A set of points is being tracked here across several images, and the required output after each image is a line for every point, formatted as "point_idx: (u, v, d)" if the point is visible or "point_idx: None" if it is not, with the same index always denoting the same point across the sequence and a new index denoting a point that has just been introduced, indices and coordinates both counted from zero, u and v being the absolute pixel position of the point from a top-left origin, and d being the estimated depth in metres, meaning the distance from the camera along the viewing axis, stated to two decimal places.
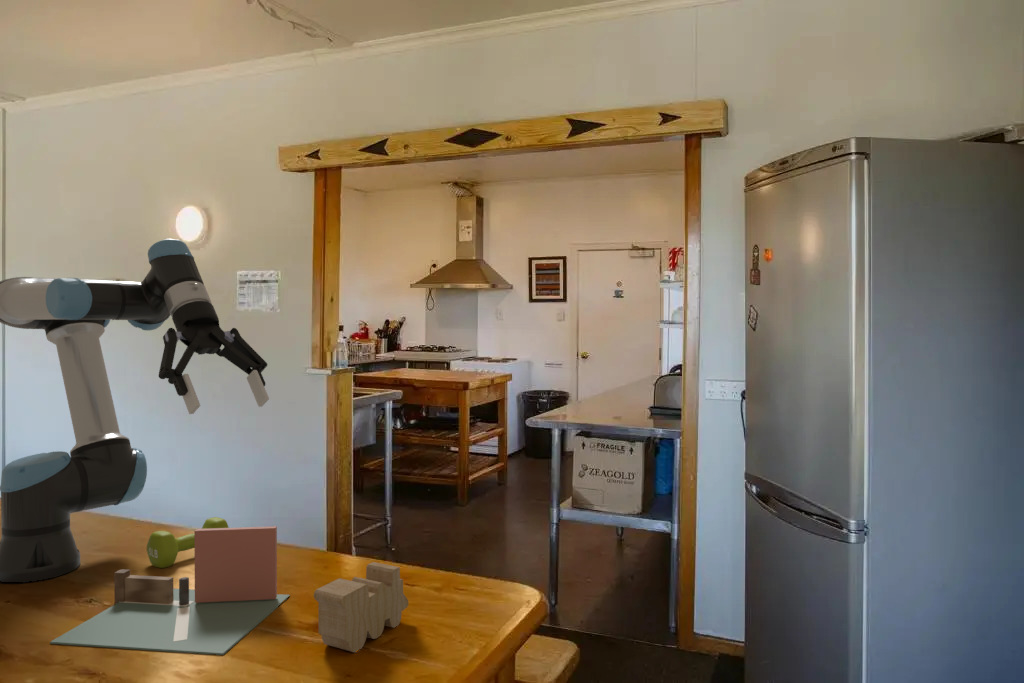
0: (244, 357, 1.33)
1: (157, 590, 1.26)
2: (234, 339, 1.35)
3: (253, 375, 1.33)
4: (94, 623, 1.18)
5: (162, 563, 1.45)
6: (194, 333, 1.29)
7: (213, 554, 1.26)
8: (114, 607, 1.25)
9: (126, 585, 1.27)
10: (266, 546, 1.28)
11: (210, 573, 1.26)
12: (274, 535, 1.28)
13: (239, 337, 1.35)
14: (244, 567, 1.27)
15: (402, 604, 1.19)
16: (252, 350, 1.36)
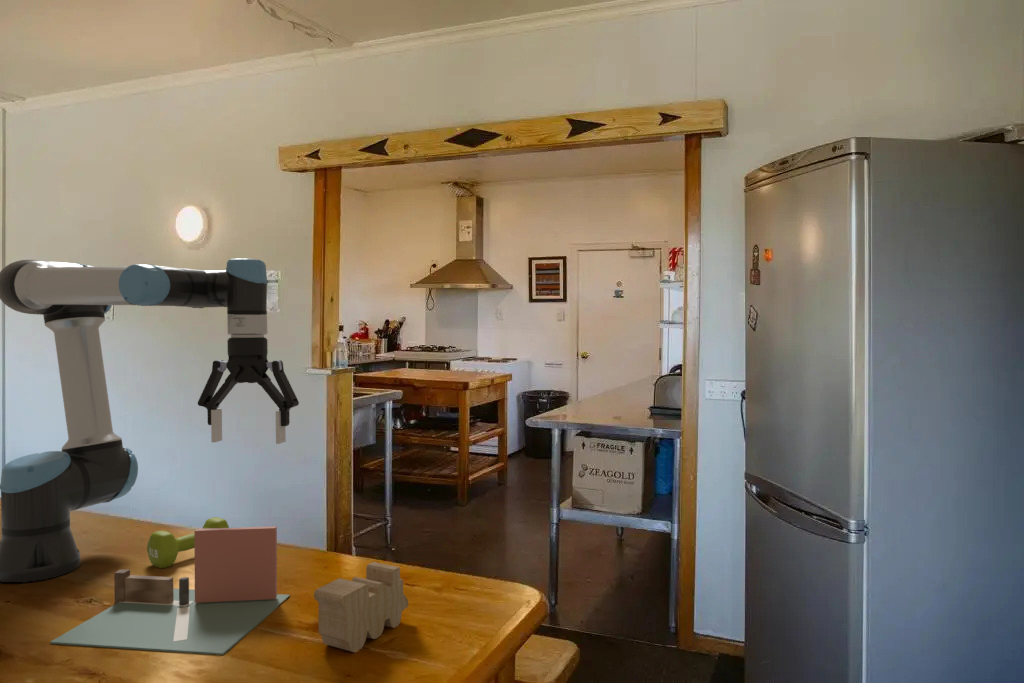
0: (272, 395, 1.39)
1: (157, 590, 1.26)
2: None
3: None
4: (94, 623, 1.18)
5: (162, 563, 1.45)
6: (235, 366, 1.40)
7: (213, 554, 1.26)
8: (114, 607, 1.25)
9: (126, 585, 1.27)
10: (266, 546, 1.28)
11: (210, 573, 1.26)
12: (274, 535, 1.28)
13: (276, 372, 1.39)
14: (244, 567, 1.27)
15: (402, 605, 1.19)
16: (284, 388, 1.39)
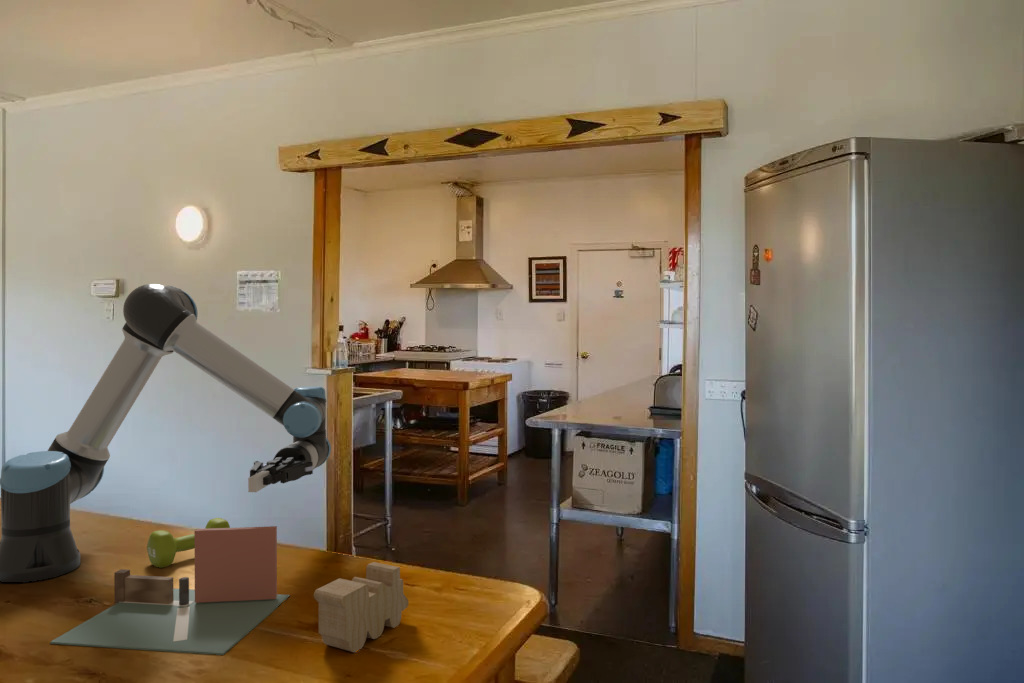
0: None
1: (157, 590, 1.26)
2: None
3: None
4: (94, 623, 1.18)
5: (159, 563, 1.45)
6: None
7: (213, 554, 1.26)
8: (114, 607, 1.25)
9: (126, 585, 1.27)
10: (266, 546, 1.28)
11: (210, 573, 1.26)
12: (274, 535, 1.28)
13: None
14: (244, 567, 1.27)
15: (402, 605, 1.19)
16: None
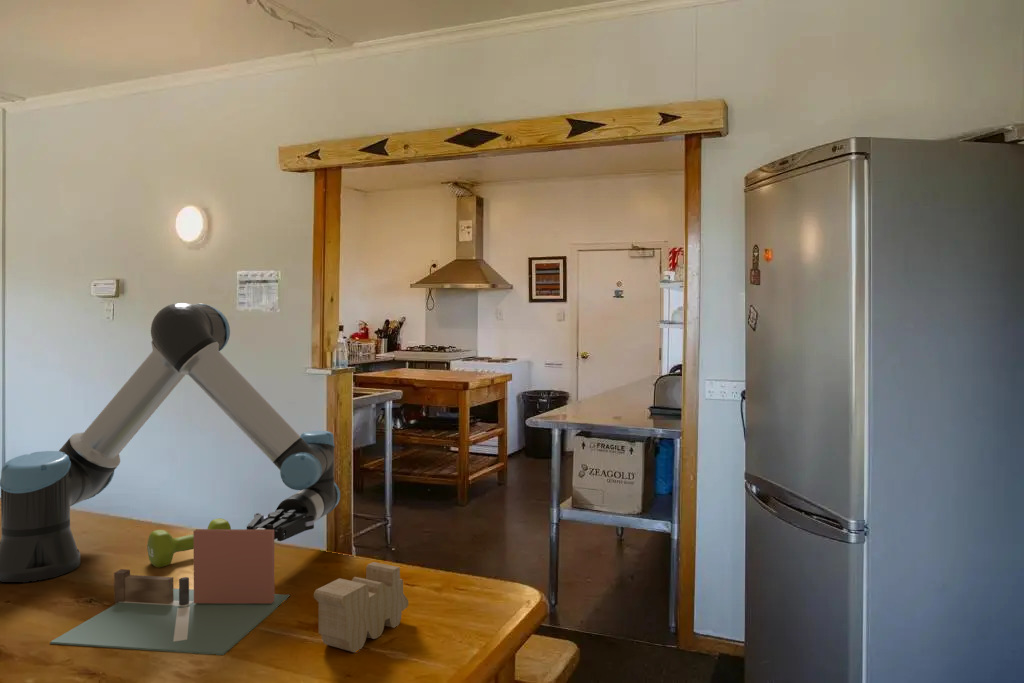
0: None
1: (157, 590, 1.26)
2: None
3: None
4: (94, 623, 1.18)
5: (157, 562, 1.45)
6: None
7: (211, 555, 1.26)
8: (114, 607, 1.25)
9: (126, 585, 1.27)
10: (263, 549, 1.26)
11: (209, 574, 1.26)
12: (271, 538, 1.26)
13: None
14: (241, 570, 1.26)
15: (402, 604, 1.19)
16: None
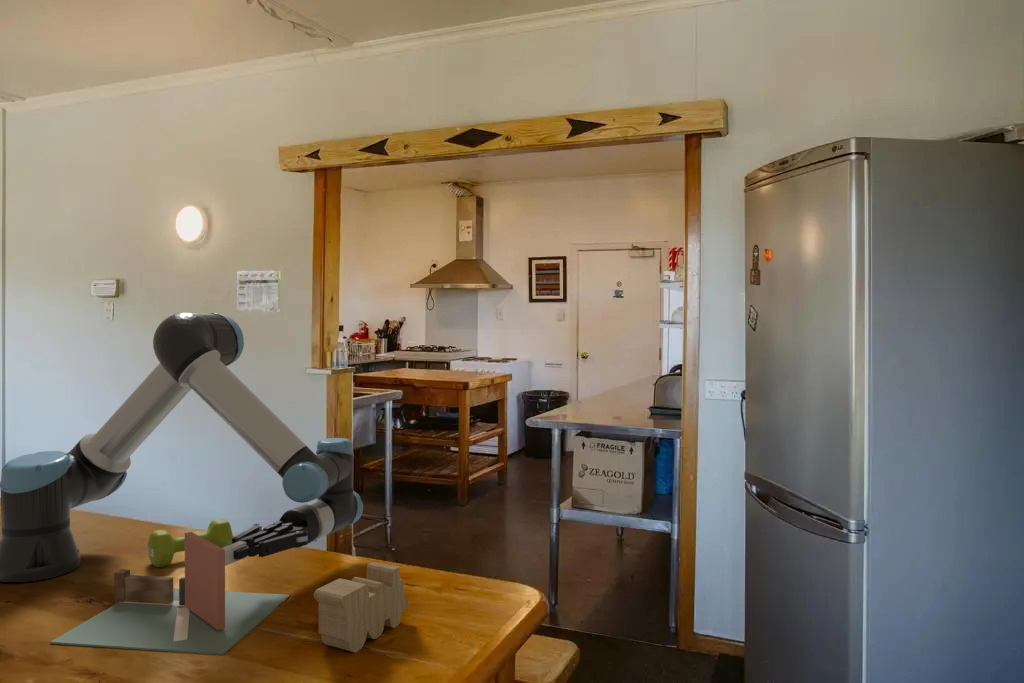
0: None
1: (157, 590, 1.26)
2: None
3: None
4: (94, 623, 1.18)
5: (157, 562, 1.45)
6: None
7: (191, 562, 1.22)
8: (114, 607, 1.25)
9: (126, 585, 1.27)
10: (213, 569, 1.16)
11: (190, 580, 1.23)
12: (217, 559, 1.15)
13: None
14: (204, 585, 1.18)
15: (402, 605, 1.19)
16: None
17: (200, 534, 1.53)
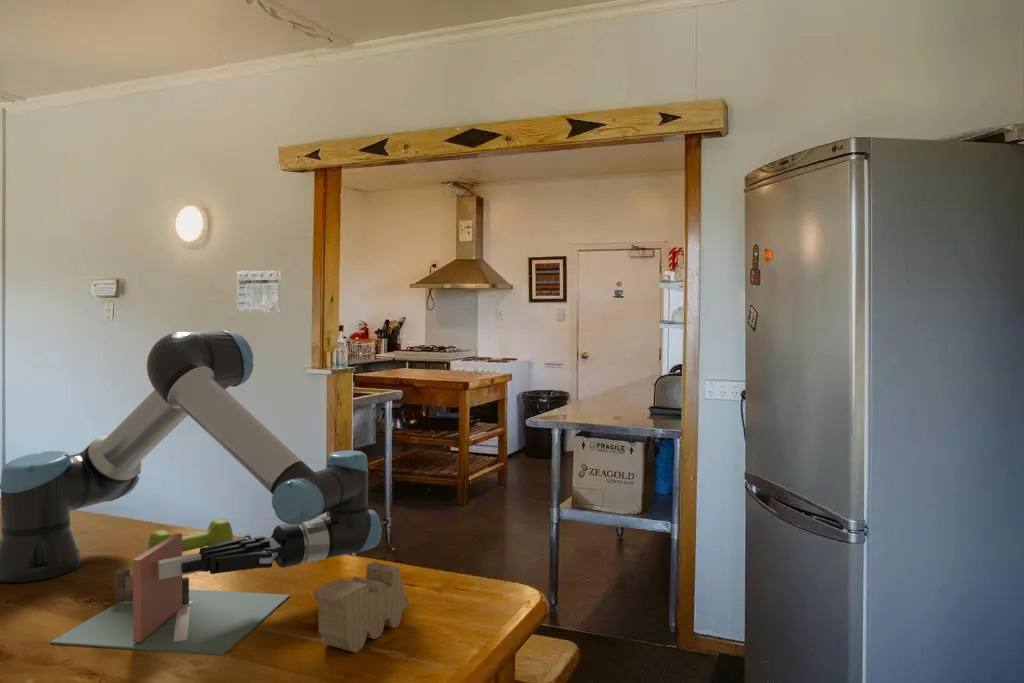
0: None
1: None
2: None
3: None
4: (94, 623, 1.18)
5: None
6: None
7: None
8: (114, 607, 1.25)
9: (126, 585, 1.27)
10: None
11: None
12: (133, 568, 1.10)
13: None
14: None
15: (402, 605, 1.19)
16: None
17: (200, 534, 1.53)
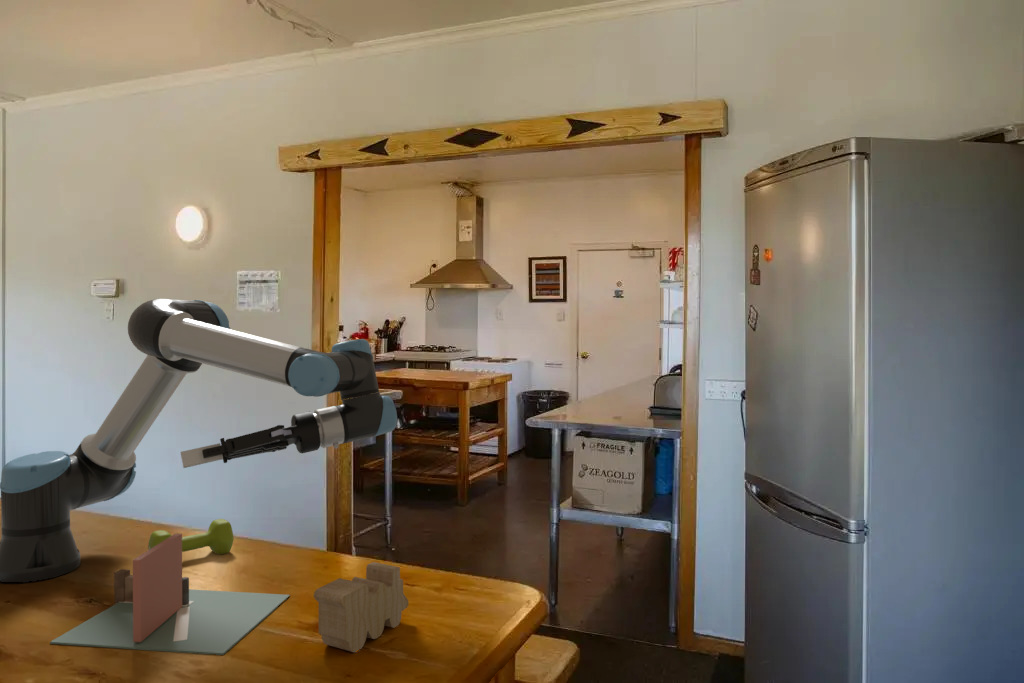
0: (243, 454, 1.29)
1: None
2: None
3: None
4: (94, 623, 1.18)
5: None
6: (290, 439, 1.30)
7: None
8: (114, 607, 1.25)
9: (126, 585, 1.27)
10: None
11: None
12: (133, 568, 1.10)
13: None
14: None
15: (402, 605, 1.19)
16: (247, 455, 1.32)
17: (201, 534, 1.53)
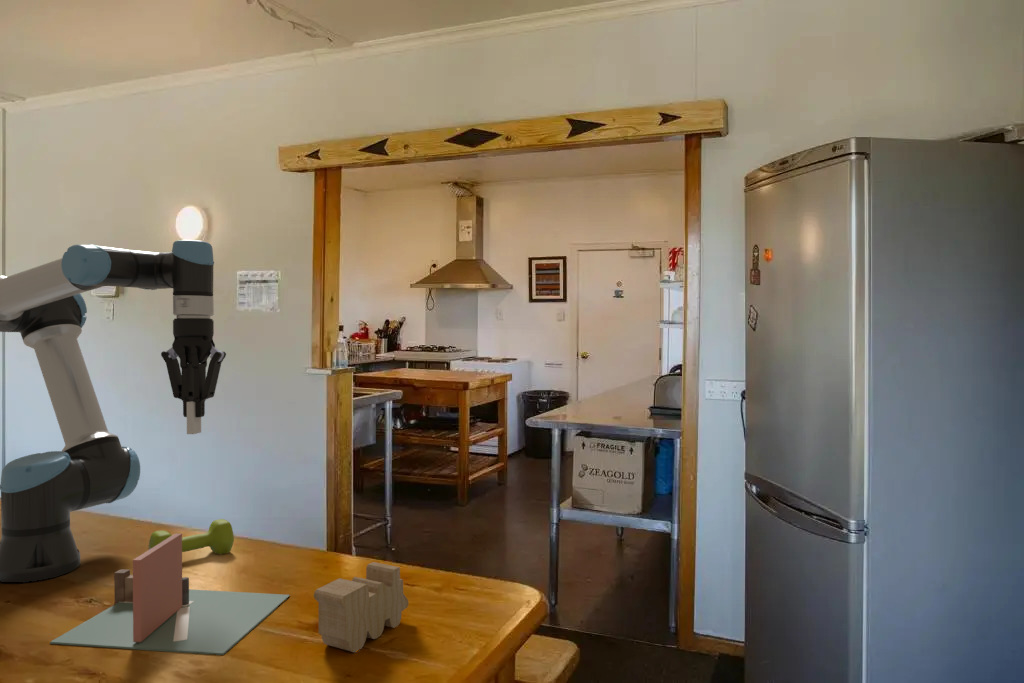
0: (196, 383, 1.42)
1: None
2: None
3: None
4: (94, 623, 1.18)
5: None
6: (180, 343, 1.42)
7: None
8: (114, 607, 1.25)
9: (126, 585, 1.27)
10: None
11: None
12: (133, 568, 1.10)
13: (213, 362, 1.41)
14: None
15: (402, 605, 1.19)
16: (209, 379, 1.41)
17: (201, 535, 1.53)
